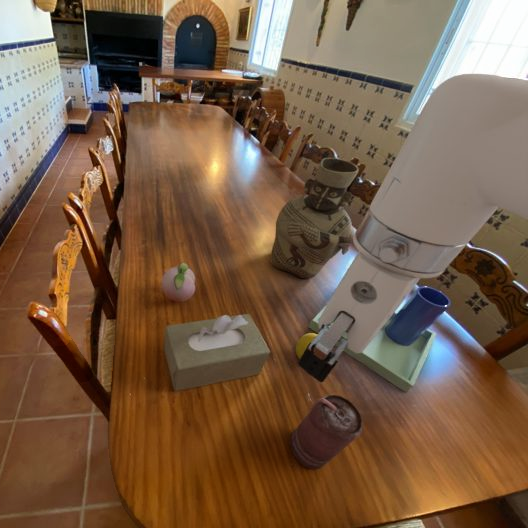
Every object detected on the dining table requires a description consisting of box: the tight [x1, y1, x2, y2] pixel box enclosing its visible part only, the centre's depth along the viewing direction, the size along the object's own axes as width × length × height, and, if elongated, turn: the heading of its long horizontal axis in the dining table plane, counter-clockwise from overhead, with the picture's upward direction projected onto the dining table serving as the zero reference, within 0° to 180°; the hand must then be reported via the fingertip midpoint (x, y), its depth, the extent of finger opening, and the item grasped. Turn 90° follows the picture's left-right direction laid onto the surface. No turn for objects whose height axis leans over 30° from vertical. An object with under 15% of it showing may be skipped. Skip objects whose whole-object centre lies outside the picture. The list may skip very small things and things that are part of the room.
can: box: [289, 394, 363, 470], centre depth 46 cm, size 6×6×14 cm
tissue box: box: [163, 313, 271, 392], centre depth 57 cm, size 19×10×16 cm, turn 104°
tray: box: [308, 304, 438, 393], centre depth 70 cm, size 22×20×3 cm
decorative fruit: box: [161, 262, 196, 303], centre depth 73 cm, size 9×8×10 cm
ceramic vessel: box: [270, 157, 359, 280], centre depth 81 cm, size 19×21×30 cm
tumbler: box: [385, 285, 452, 346], centre depth 67 cm, size 6×6×14 cm
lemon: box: [295, 332, 318, 360], centre depth 62 cm, size 6×6×8 cm
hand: (328, 349), depth 37 cm, fingers open, 9 cm apart
